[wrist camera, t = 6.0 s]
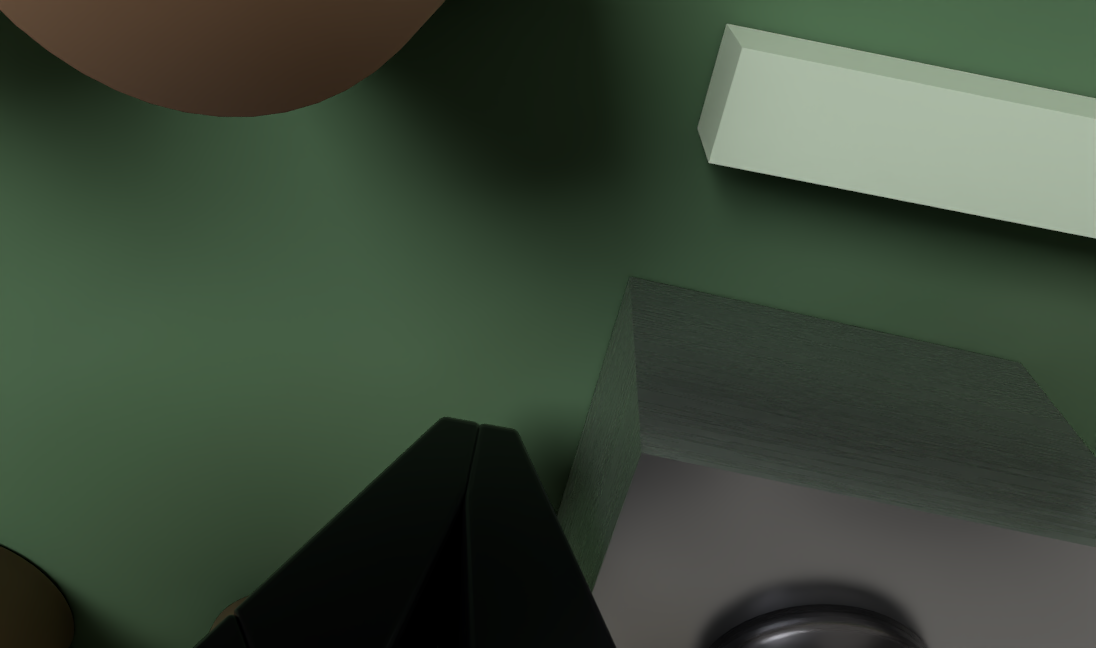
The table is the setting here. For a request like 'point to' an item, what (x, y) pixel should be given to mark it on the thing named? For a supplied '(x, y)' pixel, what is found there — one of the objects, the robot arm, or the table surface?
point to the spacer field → (209, 89)
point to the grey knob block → (824, 488)
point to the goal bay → (902, 130)
